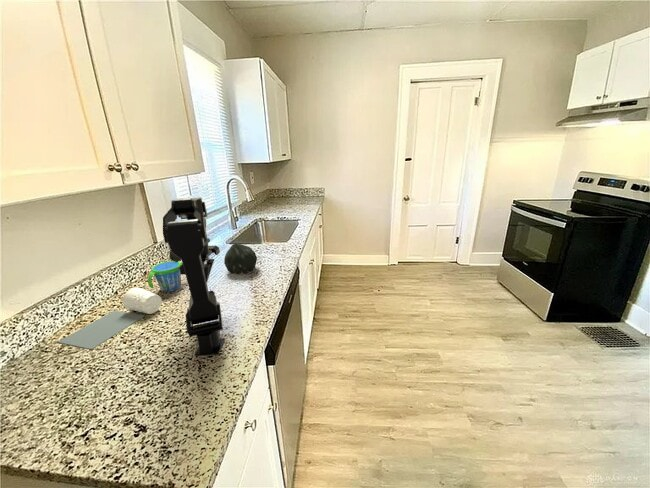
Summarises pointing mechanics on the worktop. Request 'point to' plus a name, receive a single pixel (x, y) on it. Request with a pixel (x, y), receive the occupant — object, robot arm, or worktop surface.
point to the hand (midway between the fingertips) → (205, 282)
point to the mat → (101, 329)
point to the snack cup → (166, 275)
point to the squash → (240, 259)
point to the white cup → (141, 301)
